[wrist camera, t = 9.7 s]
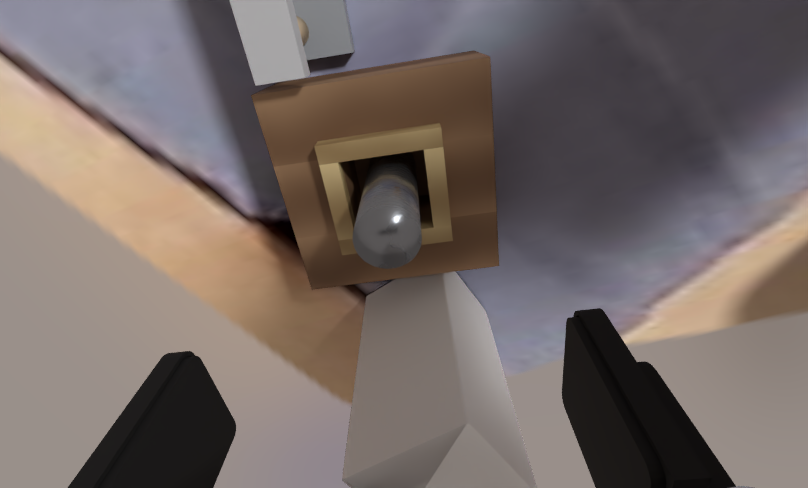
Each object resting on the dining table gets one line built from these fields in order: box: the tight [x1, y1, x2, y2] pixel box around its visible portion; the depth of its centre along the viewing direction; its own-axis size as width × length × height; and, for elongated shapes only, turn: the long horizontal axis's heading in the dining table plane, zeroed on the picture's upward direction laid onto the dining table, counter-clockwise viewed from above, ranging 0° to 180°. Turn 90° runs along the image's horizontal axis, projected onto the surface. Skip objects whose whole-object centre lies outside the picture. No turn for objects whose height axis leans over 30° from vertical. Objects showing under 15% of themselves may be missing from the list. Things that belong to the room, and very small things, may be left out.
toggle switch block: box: [251, 51, 499, 289], centre depth 25 cm, size 12×12×6 cm
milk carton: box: [342, 271, 537, 488], centre depth 24 cm, size 7×7×19 cm
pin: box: [353, 152, 422, 269], centre depth 22 cm, size 3×3×10 cm
